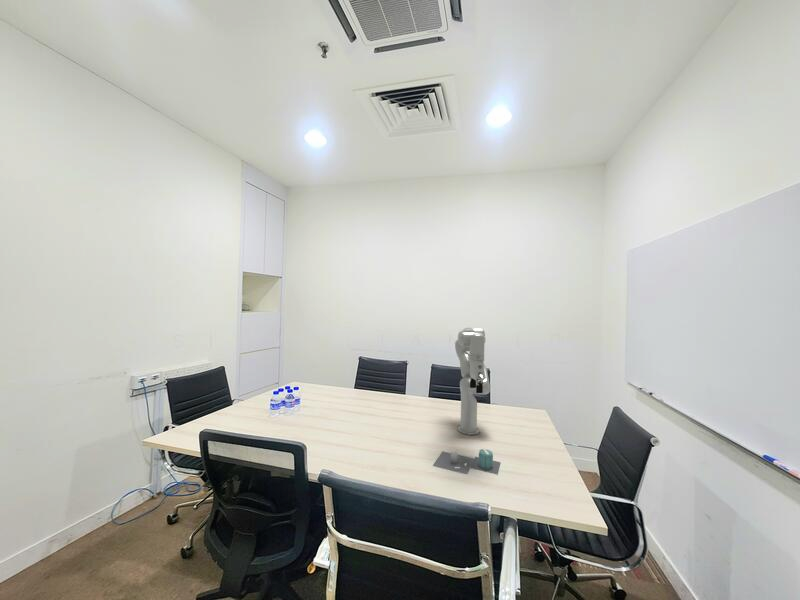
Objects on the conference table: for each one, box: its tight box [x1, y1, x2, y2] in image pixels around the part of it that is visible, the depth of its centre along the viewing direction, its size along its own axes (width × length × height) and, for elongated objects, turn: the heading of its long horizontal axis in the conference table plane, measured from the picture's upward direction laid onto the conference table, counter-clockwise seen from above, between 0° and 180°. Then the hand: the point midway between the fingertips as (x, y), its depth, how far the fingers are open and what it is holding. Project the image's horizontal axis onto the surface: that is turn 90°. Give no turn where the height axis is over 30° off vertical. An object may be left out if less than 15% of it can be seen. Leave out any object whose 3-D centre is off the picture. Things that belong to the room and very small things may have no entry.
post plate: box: [432, 450, 475, 475], centre depth 147 cm, size 16×16×5 cm
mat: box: [470, 456, 501, 476], centre depth 144 cm, size 12×12×1 cm
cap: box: [478, 448, 494, 468], centre depth 144 cm, size 6×6×6 cm
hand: (476, 390), depth 163 cm, fingers open, 9 cm apart
